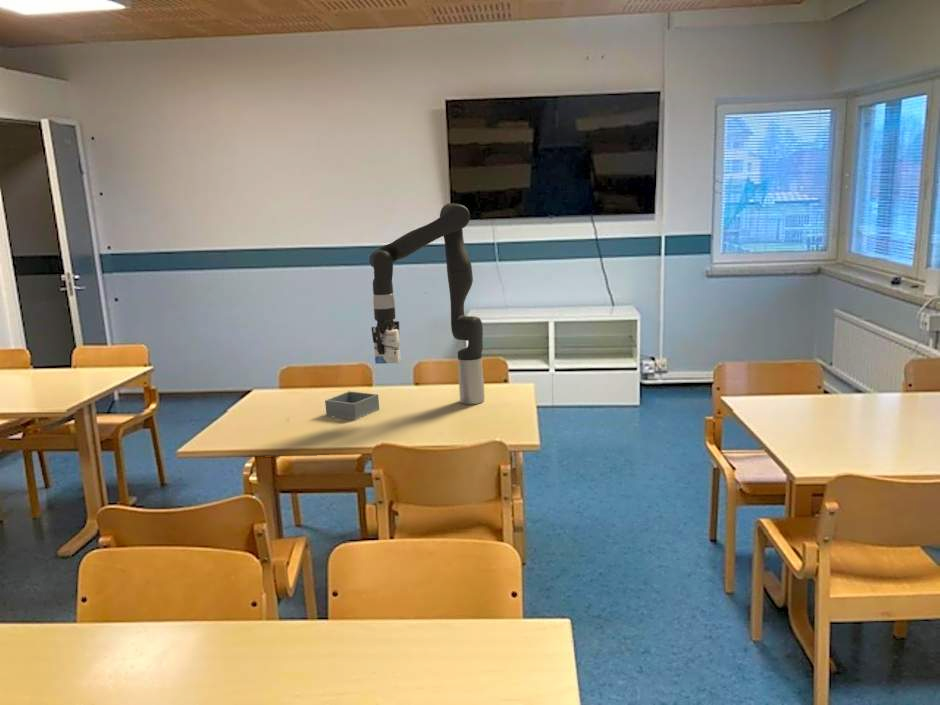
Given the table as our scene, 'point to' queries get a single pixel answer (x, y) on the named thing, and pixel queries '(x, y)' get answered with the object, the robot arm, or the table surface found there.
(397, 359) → the ink box
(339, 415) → the grey bin
